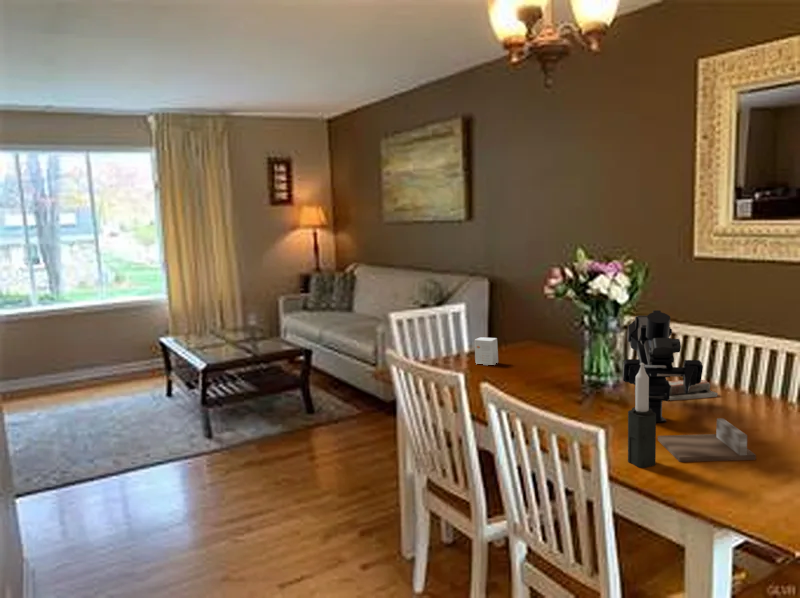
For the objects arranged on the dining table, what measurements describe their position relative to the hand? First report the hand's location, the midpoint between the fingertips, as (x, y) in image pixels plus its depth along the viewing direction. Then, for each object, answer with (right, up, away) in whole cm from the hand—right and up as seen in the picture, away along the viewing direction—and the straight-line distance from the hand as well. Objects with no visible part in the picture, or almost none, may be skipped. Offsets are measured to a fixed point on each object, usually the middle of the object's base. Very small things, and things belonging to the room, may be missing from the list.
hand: (666, 391), depth 149 cm
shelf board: (+11, -15, +3) cm, 19 cm away
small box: (-30, -4, +99) cm, 103 cm away
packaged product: (+26, -9, +47) cm, 55 cm away
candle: (-7, -17, -3) cm, 19 cm away
